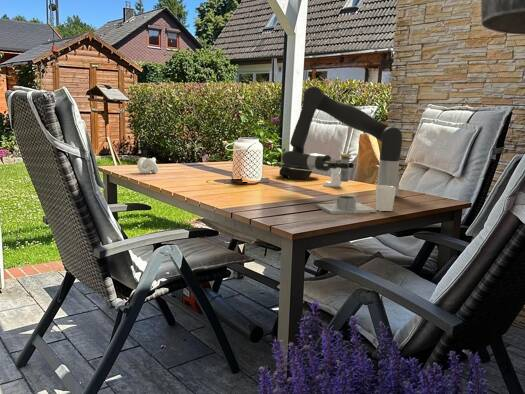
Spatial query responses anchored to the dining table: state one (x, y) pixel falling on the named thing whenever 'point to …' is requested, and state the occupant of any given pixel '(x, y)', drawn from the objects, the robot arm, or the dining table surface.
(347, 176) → the hinge pin
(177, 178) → the dining table surface
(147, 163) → the white animal figurine
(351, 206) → the hinge leaves
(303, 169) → the stone bowl
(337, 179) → the sitting furry creature
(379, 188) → the white cup
